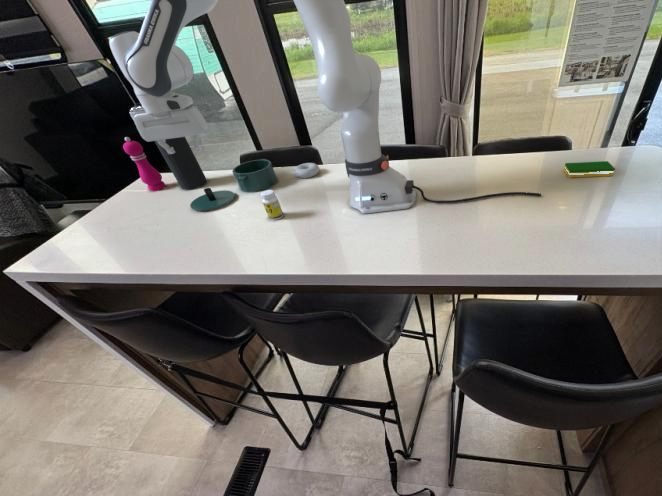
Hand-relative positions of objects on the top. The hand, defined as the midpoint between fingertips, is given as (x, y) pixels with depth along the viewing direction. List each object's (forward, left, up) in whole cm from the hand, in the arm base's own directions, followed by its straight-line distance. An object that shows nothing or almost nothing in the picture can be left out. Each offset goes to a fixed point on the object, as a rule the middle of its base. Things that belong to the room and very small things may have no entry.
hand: (186, 151), depth 104 cm
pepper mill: (+36, -17, -19) cm, 44 cm away
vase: (+20, -19, -19) cm, 33 cm away
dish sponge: (-132, -16, -19) cm, 134 cm away
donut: (-28, -25, -19) cm, 42 cm away
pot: (-10, -17, -19) cm, 27 cm away
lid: (+1, -2, -18) cm, 18 cm away
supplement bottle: (-29, +10, -19) cm, 36 cm away
